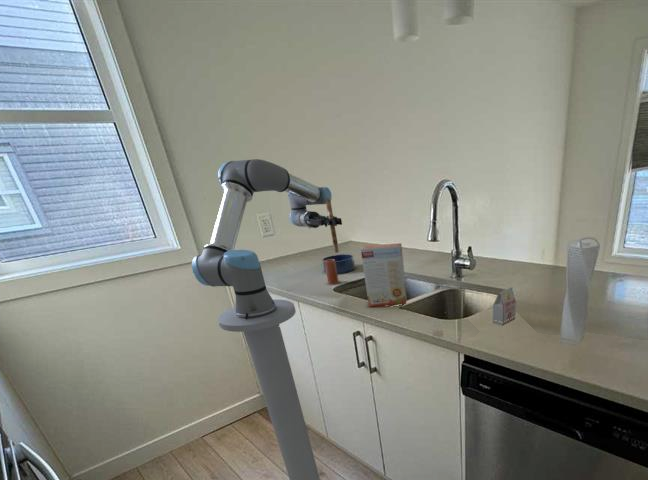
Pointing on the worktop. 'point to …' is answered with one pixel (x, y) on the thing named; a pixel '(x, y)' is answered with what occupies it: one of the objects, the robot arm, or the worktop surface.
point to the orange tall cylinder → (331, 271)
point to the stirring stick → (333, 231)
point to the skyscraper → (578, 288)
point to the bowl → (341, 263)
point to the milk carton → (504, 307)
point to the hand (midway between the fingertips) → (338, 222)
